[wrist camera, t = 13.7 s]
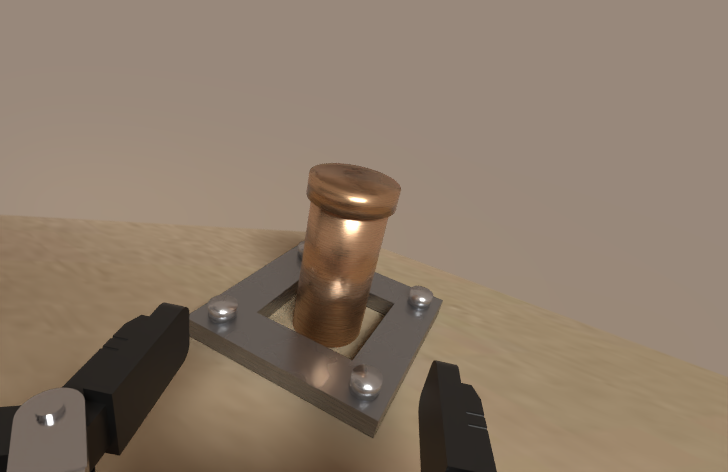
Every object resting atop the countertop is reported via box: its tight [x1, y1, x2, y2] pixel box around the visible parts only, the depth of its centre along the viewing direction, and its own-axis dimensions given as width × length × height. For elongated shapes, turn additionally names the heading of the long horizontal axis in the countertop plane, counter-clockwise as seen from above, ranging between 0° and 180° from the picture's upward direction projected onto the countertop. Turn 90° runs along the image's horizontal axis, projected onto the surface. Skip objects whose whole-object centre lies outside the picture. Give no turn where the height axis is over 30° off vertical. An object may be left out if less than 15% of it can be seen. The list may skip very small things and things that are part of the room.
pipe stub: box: [293, 163, 401, 348], centre depth 24 cm, size 5×5×10 cm
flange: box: [189, 241, 443, 438], centre depth 26 cm, size 12×12×2 cm
